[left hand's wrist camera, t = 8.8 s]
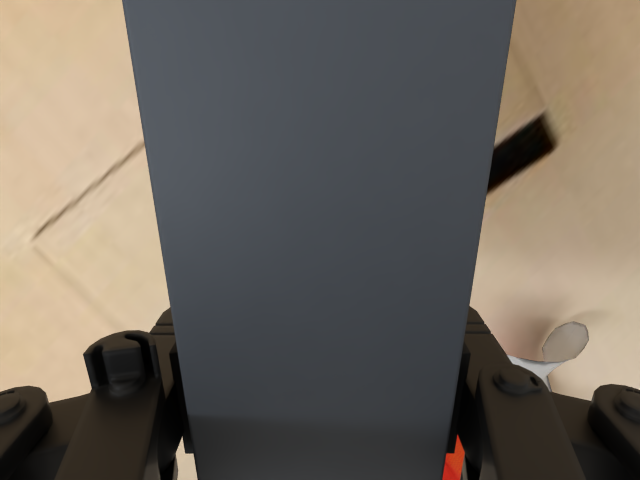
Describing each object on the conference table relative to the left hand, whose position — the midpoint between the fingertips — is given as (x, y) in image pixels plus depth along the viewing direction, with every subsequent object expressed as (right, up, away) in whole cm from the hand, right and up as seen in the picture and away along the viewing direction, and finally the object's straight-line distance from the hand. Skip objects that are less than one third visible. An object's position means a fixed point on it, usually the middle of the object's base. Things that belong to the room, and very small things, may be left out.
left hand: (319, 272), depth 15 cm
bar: (0, +8, -2) cm, 9 cm away
